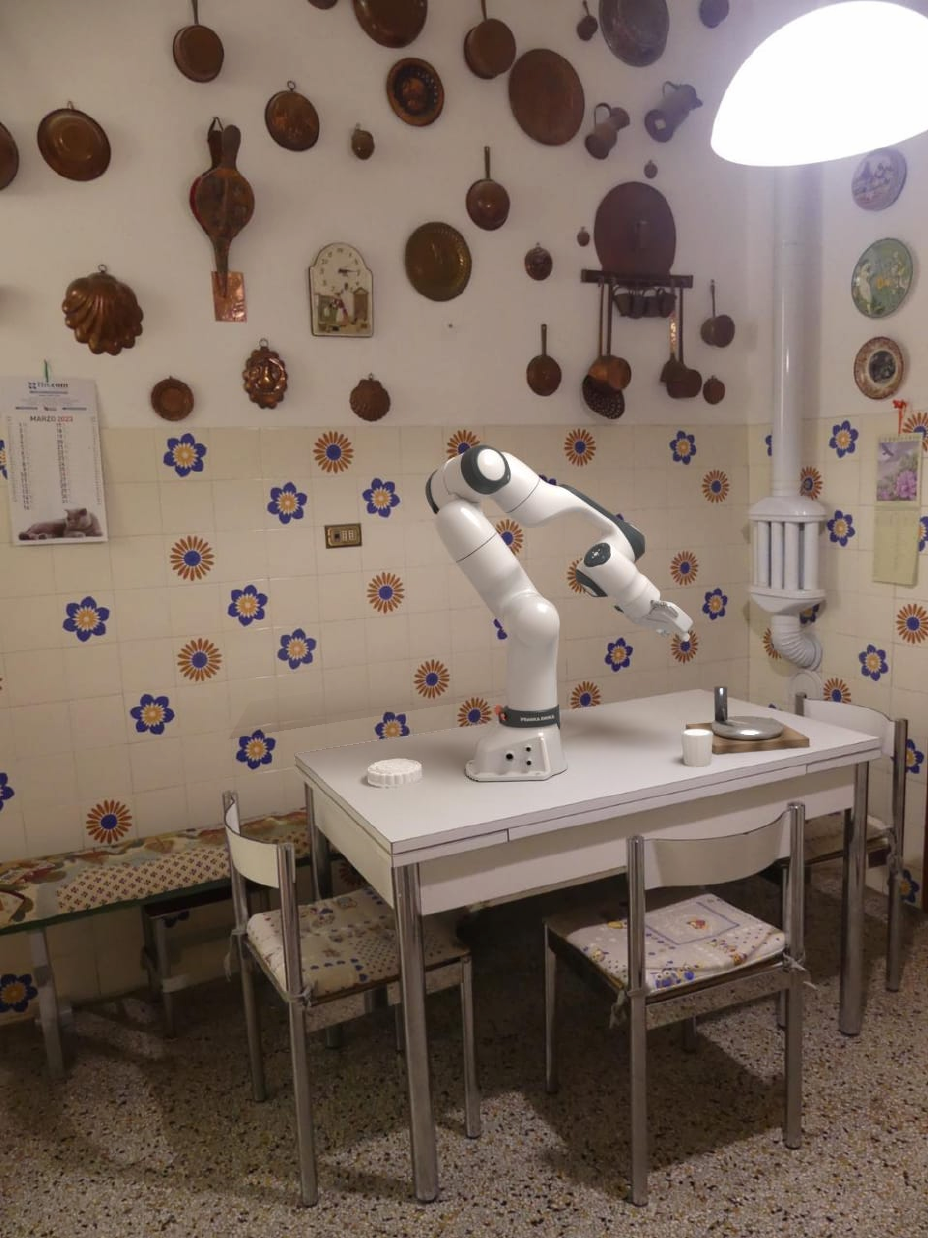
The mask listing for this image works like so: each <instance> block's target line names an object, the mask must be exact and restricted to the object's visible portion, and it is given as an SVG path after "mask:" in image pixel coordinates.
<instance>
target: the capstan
mask: <svg viewBox="0 0 928 1238" xmlns="http://www.w3.org/2000/svg"><path fill="white" fill-rule="evenodd" d="M713 690H714V692H713V694H714V695H713V696H714V697H713V699H714V705H713V706H714V720H713V721H712V732H713V733H714V734H716V735H719V736H722V737H726V738H732V739H743V740H758V739H768V738H773V737H777V736H779V735H781V734H782V733H783V724H784V723H783V722H781V721H779V720H777V719H775V718H773V719H770V718H771V717H763V716H753V715H736V716H729V715H728V714H729V713H728V686H725V685H716V686H714V689H713ZM774 719H775V720H774ZM782 723H783V724H782Z"/></svg>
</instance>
